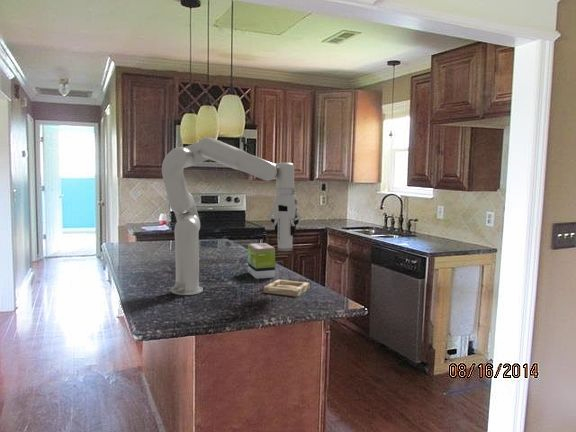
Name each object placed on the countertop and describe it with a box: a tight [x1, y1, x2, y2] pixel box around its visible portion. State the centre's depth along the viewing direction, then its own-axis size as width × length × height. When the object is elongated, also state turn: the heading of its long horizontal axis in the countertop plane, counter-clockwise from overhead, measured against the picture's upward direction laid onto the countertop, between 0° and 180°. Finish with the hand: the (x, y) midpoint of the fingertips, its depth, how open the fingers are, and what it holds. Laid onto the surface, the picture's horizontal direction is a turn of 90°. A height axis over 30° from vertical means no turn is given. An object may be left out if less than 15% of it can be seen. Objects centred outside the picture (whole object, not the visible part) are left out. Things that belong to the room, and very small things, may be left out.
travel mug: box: [277, 205, 293, 252], centre depth 199 cm, size 6×7×20 cm
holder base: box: [263, 278, 311, 297], centre depth 202 cm, size 15×15×2 cm
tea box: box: [247, 242, 276, 280], centre depth 231 cm, size 15×10×15 cm
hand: (285, 234), depth 200 cm, fingers closed on travel mug, 6 cm apart
